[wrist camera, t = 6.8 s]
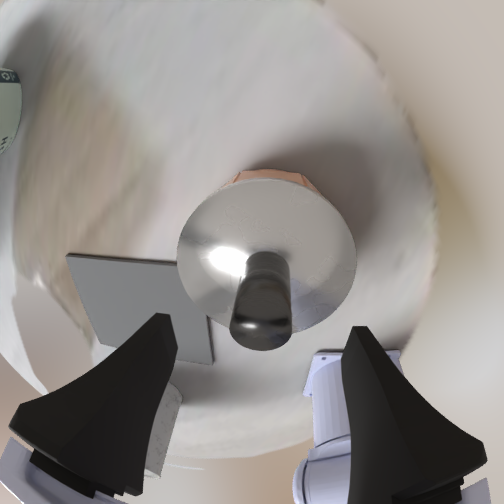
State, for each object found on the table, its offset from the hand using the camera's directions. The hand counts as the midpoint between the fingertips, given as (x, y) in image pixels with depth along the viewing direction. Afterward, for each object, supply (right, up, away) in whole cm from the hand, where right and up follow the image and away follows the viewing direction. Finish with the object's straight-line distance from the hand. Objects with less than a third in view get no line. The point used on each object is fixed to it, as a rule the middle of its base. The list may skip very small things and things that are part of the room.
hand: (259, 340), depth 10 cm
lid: (+1, +3, +5) cm, 6 cm away
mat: (-11, -2, +14) cm, 18 cm away
